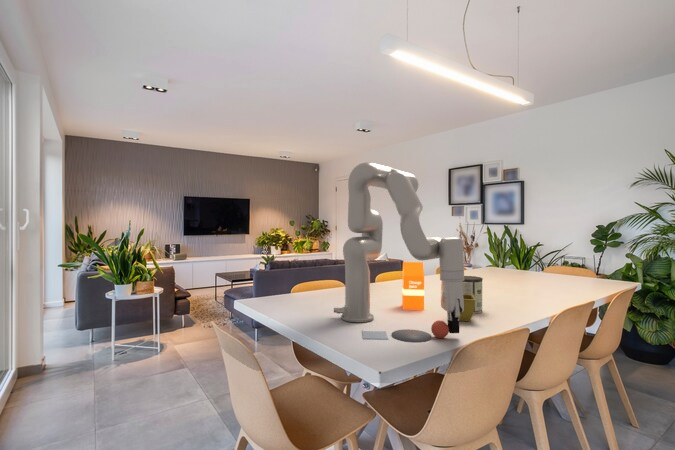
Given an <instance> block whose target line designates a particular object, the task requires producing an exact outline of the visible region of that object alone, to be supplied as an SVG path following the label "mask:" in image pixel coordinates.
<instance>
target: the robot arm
mask: <svg viewBox="0 0 675 450" xmlns="http://www.w3.org/2000/svg"><path fill="white" fill-rule="evenodd" d="M348 176H349V177H348V180H347V181H348V182H347V183H348V184H347V185H348V186H347V188H348V204H347V205H348V206H347V226H348V230H349V231H351V232H352V233H356V234H361V236H353V237H350V238H348V239H347V240H346V241H345V242H344V244H343V247H342V255H343V259H344V270H345V271H344V273H345V274H344V275H345V276H344V277H345V278H344V279H345V285H344V286H345V289H344V291H345V294H344V295H345V297H344V299H345V300H344V303H345V304H344V305H343V306H342V307H333V313H334V314H335V313H336V314H338V315H339V314H341V315H340V316H341V318H340V319H342V320H343V321H345V322H349V323H367V322H372V321H373V320H374V319H375V315H374V314H372V313H371V310H370V309H371V271H370V266H369V264H368V261H371V260H376V259H377V258H378V257H379V256H380V254H381V252H382V247H383V229H384V228H383V218H382V215H381V214H380V212H378V211H377V210H375V209H371V201H372V199H371V193H370V190H369V187H375V188H382V189H385V190H387V192H388V193H389V195H390V198H391V201H392V202H393V204H394V206H395V209H396V211H397V213H398V215H399V218H400V219H399V224H400V225H399V227H400V233H401V237H402V240H403V241H404V244H405V246H406V248H407V250H408V252H409V254H410V255H411V257H413V258H414V259H415V260H417V261H420V262H422V261H429V260H435V259H439V260H438V261H439V280H440V281H441V285H440V306H441V308H442V309H443V310H444V311H445V312H446V314H447V325H448V327H449V333H448V334H459V333H460V321H459V317H460V312H461V313H462V312H463V311H464V299H463V287H462V281H464V276H465V266H464V265H465V263H464V257H465V256H464V241H463V239H462V238H461V237H435V236H426V235H425V233H424V231H423V228H422V226H421V223H420V215H421V212H422V211H423V204H422V202H421V200H420V198H419V196H418V193H417V191H418V188H419V182H418V179H417V177H416V176H415V174H412V173H411V172H406V171H402V170H399V169H395V168H393V167H390V166H385V165H382V164H378V163H374V162H369V161H368V162H362V163H359V164H357V165H356V166H355V167H354V168H353V169H352V170H351V172H350V174H349V175H348Z"/></svg>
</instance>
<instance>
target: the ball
mask: <svg viewBox="0 0 675 450" xmlns="http://www.w3.org/2000/svg"><path fill="white" fill-rule="evenodd" d="M431 334H432V335H433V336H434V337H436V338H437V339H444V338H446V337H447V336H448V334H450V333H449V327H448V323H446V322H445V321H444V320H436V321H434V322H433V323H432V324H431Z"/></svg>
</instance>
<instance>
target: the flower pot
mask: <svg viewBox="0 0 675 450" xmlns="http://www.w3.org/2000/svg"><path fill="white" fill-rule="evenodd" d="M463 299H464V311H463V312H462V313H461V312H460V317H459V322H470V321H471V319H472V317H473V316H474V314H475V313H474V307H475V298H474V297H473V296H472V295H463Z"/></svg>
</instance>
